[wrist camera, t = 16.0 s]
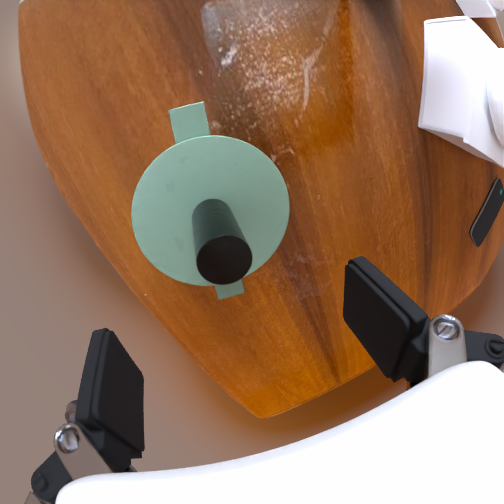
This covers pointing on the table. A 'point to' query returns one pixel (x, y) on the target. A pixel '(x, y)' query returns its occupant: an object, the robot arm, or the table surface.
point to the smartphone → (487, 213)
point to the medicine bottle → (481, 7)
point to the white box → (463, 87)
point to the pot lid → (210, 210)
